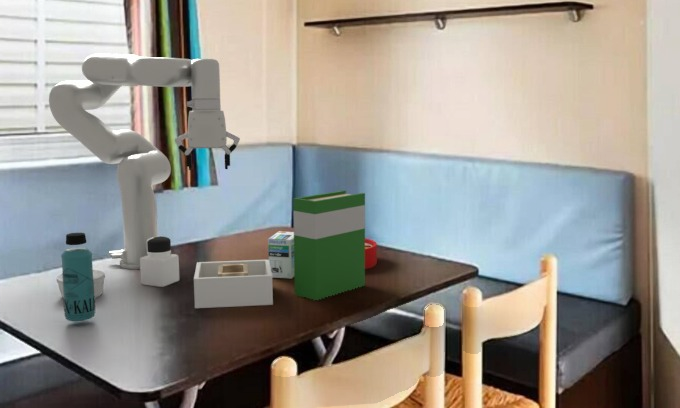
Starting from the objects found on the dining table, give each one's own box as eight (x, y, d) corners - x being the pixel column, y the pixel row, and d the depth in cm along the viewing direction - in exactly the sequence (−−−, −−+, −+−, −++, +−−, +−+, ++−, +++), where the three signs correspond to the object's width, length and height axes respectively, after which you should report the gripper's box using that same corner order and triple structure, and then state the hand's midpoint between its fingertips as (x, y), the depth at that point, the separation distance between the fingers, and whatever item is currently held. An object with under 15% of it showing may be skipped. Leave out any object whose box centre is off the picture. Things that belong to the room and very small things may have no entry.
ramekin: (60, 305, 173) (59, 283, 172) (55, 293, 182) (53, 272, 181) (109, 298, 178) (108, 277, 177) (101, 287, 187) (100, 267, 187)
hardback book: (343, 280, 193) (343, 190, 189) (364, 285, 188) (364, 193, 184) (294, 294, 180) (293, 198, 176) (315, 300, 175) (314, 201, 171)
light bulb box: (292, 279, 194) (291, 239, 192) (267, 278, 195) (267, 238, 194) (302, 269, 204) (301, 231, 203) (279, 268, 206) (278, 230, 204)
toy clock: (385, 249, 204) (315, 253, 199) (385, 269, 205) (315, 274, 200) (366, 234, 223) (301, 238, 218) (366, 253, 224) (302, 257, 219)
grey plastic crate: (194, 308, 169) (193, 279, 168) (198, 289, 185) (197, 262, 184) (272, 304, 172) (272, 275, 171) (269, 286, 187) (268, 259, 186)
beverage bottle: (69, 319, 162) (63, 230, 159) (100, 318, 163) (94, 229, 159) (60, 328, 156) (54, 236, 152) (92, 327, 156) (87, 236, 153)
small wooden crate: (218, 298, 173) (217, 274, 172) (219, 288, 182) (218, 264, 181) (248, 297, 174) (247, 272, 173) (247, 287, 183) (247, 263, 182)
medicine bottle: (180, 280, 193) (178, 236, 191) (162, 287, 187) (160, 241, 185) (158, 277, 196) (156, 234, 194) (140, 284, 190) (138, 239, 188)
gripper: (172, 106, 192) (175, 171, 194) (239, 105, 194) (240, 170, 197) (174, 105, 199) (177, 168, 202) (238, 105, 201) (240, 166, 204)
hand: (208, 169), depth 199 cm, fingers open, 9 cm apart
